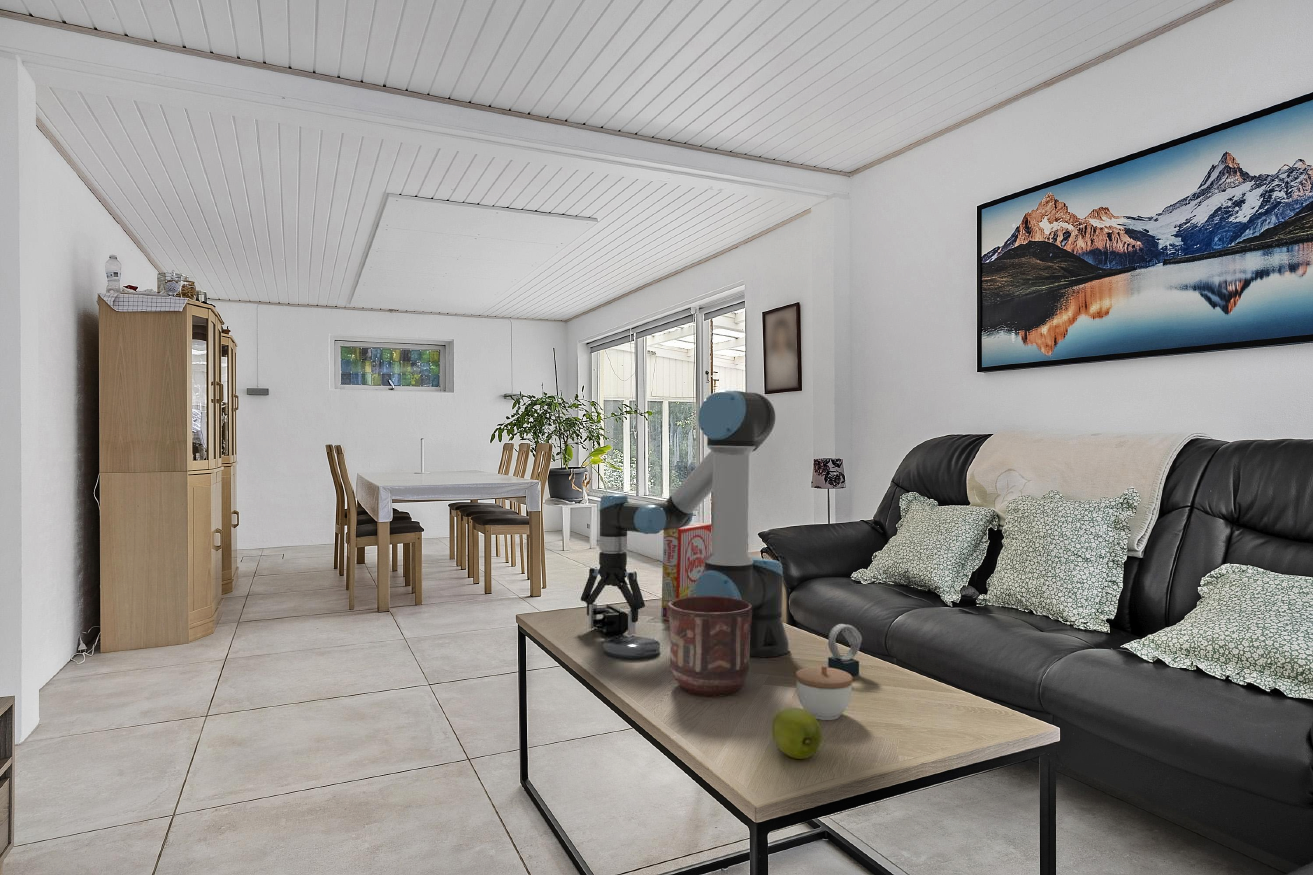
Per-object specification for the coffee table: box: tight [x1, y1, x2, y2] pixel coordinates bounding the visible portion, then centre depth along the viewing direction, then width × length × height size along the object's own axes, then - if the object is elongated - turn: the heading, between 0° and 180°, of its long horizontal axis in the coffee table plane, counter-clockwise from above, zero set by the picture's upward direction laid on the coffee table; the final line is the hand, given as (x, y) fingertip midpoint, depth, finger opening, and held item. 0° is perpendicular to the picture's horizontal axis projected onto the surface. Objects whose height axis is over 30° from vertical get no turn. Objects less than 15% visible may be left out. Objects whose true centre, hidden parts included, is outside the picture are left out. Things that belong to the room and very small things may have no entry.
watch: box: [827, 623, 863, 677], centre depth 177 cm, size 6×8×11 cm
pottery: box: [668, 596, 752, 697], centre depth 165 cm, size 18×18×18 cm
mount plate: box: [602, 635, 661, 661], centre depth 192 cm, size 14×14×2 cm
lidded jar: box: [795, 665, 853, 721], centre depth 150 cm, size 11×11×9 cm
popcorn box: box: [660, 522, 712, 621], centre depth 234 cm, size 20×6×27 cm, turn 149°
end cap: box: [593, 604, 628, 639], centre depth 210 cm, size 10×7×7 cm
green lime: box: [771, 707, 823, 760], centre depth 130 cm, size 8×9×8 cm
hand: (611, 630), depth 210 cm, fingers closed on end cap, 12 cm apart
